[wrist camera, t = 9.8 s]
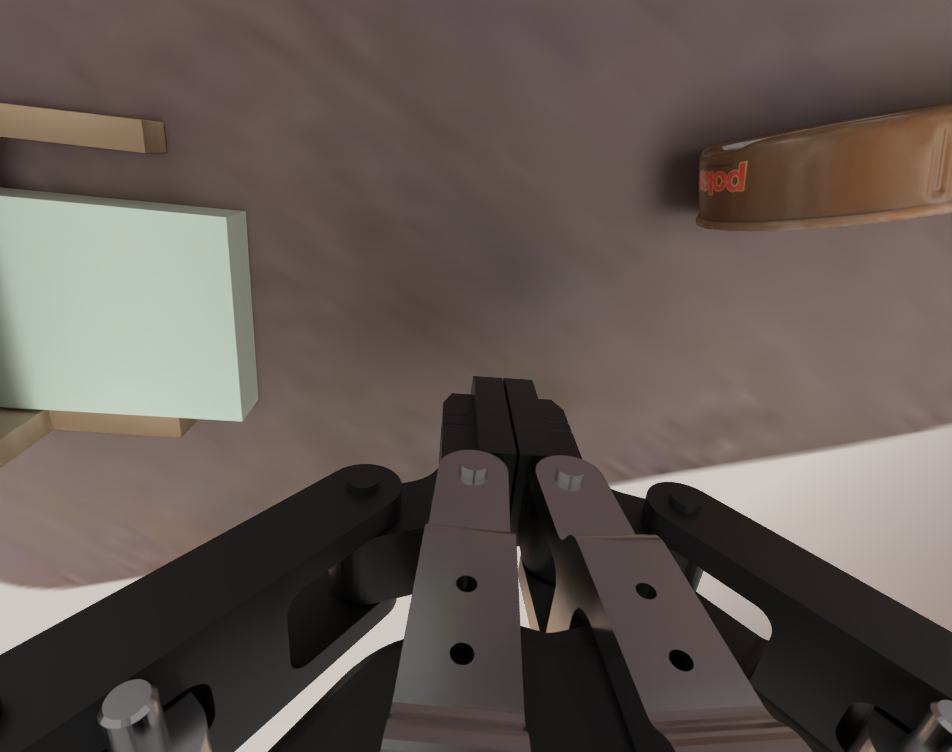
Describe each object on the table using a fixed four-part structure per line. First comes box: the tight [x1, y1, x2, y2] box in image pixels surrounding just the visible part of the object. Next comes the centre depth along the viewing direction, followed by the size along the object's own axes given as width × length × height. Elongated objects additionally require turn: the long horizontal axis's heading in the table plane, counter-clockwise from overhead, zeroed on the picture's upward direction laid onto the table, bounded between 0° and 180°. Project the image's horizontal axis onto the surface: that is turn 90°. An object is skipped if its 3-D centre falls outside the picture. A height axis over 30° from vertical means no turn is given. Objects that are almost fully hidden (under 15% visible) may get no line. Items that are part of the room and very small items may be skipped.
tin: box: [696, 103, 952, 231], centre depth 17 cm, size 15×3×8 cm, turn 99°
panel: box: [0, 187, 258, 422], centre depth 20 cm, size 8×15×2 cm, turn 84°
